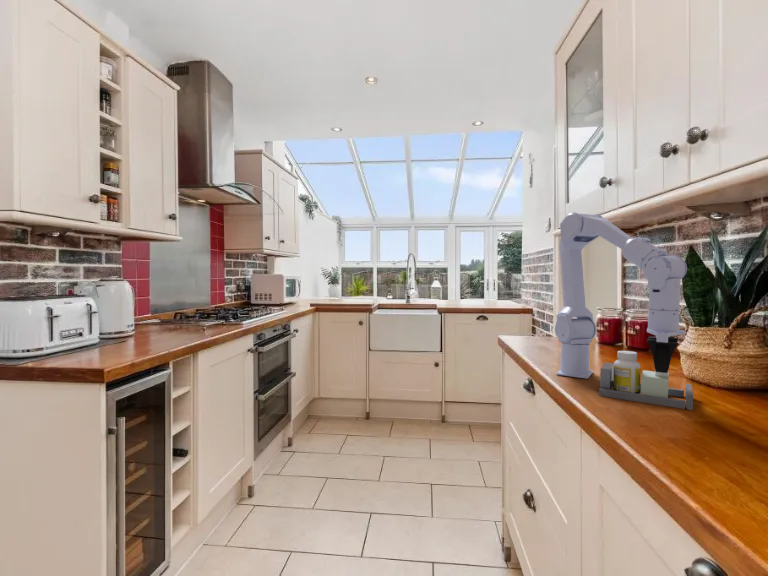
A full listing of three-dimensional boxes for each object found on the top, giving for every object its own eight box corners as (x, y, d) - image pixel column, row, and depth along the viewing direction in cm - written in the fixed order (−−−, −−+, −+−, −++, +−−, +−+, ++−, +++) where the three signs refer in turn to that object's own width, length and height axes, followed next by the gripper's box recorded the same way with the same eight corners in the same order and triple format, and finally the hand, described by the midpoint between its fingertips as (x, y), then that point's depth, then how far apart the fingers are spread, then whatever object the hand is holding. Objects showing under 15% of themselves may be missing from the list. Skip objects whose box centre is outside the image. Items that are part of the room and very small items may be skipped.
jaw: (642, 391, 98) (643, 351, 98) (668, 394, 96) (669, 353, 95) (640, 398, 93) (641, 355, 92) (667, 402, 90) (669, 358, 90)
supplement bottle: (632, 391, 100) (634, 350, 99) (644, 397, 94) (645, 354, 94) (609, 390, 100) (610, 349, 100) (619, 396, 95) (620, 354, 95)
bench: (605, 385, 105) (605, 361, 104) (690, 397, 95) (691, 371, 95) (598, 395, 96) (599, 369, 95) (692, 410, 86) (693, 381, 86)
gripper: (686, 313, 85) (684, 379, 85) (685, 308, 96) (682, 367, 97) (645, 311, 89) (643, 374, 89) (648, 307, 100) (647, 363, 101)
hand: (661, 370), depth 93 cm, fingers open, 4 cm apart
